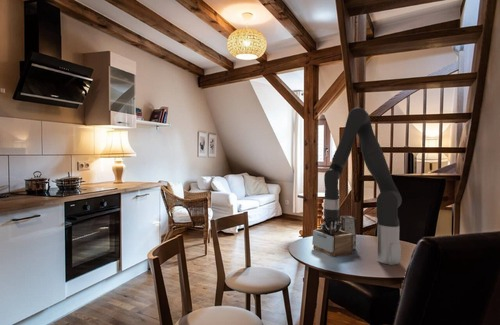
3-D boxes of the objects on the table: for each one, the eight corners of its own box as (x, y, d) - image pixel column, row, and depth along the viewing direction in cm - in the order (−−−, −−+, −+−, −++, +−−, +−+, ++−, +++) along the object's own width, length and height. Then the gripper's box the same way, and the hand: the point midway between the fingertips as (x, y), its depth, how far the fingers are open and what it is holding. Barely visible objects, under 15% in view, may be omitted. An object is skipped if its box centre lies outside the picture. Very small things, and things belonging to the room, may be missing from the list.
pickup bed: (352, 254, 158) (353, 234, 158) (333, 257, 153) (334, 236, 152) (331, 245, 172) (331, 227, 172) (313, 248, 167) (313, 229, 167)
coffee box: (356, 249, 166) (357, 218, 166) (343, 249, 166) (344, 218, 166) (351, 244, 175) (351, 215, 175) (339, 244, 175) (340, 215, 175)
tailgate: (332, 252, 153) (333, 236, 153) (330, 252, 152) (331, 237, 152) (313, 244, 166) (314, 230, 166) (310, 244, 166) (312, 230, 166)
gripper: (326, 209, 155) (325, 244, 155) (346, 208, 161) (345, 242, 161) (316, 207, 162) (315, 241, 162) (336, 206, 168) (335, 238, 168)
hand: (330, 241), depth 162 cm, fingers closed
